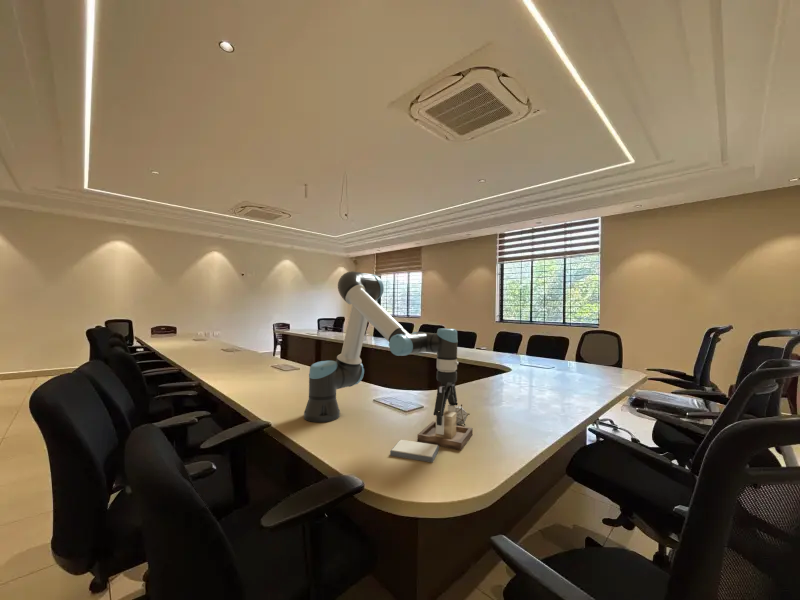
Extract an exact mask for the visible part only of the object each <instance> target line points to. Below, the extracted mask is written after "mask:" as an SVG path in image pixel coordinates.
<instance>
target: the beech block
mask: <svg viewBox="0 0 800 600" xmlns="http://www.w3.org/2000/svg"><path fill="white" fill-rule="evenodd" d="M456 414H457V413H456V412H450V411H448V410H444V413H443V415H444V435H441V434H436V437H440V438H446V439H451V440H452V438H453V437H454V436H455V435H456Z"/></svg>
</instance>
